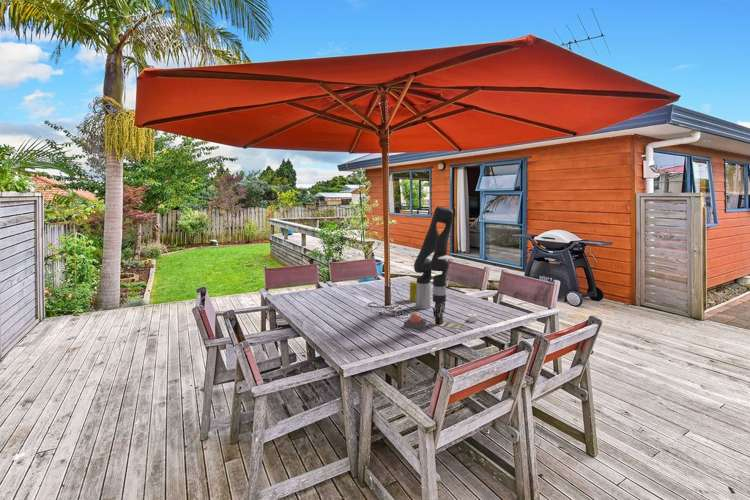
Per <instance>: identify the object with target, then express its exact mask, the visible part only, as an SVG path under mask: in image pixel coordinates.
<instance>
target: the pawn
mask: <svg viewBox="0 0 750 500" xmlns="http://www.w3.org/2000/svg"><path fill="white" fill-rule="evenodd" d="M438 312H439V311H438ZM434 320H435V324H436V317H434ZM443 321H444V314H443V315H442V312H441V314H440V323H439V324H438V325H441V324H443Z"/></svg>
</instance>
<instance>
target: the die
mask: <svg viewBox="0 0 750 500" xmlns="http://www.w3.org/2000/svg"><path fill="white" fill-rule="evenodd" d="M468 322H471V323H477V322H478V316H477V314H476V313H468Z"/></svg>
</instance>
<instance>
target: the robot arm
mask: <svg viewBox="0 0 750 500" xmlns="http://www.w3.org/2000/svg"><path fill="white" fill-rule="evenodd" d="M453 219H454V210H453V209H452V208H448V207H443V206H436V208H435V209H434V212H433V214H432V217H431V221H430V225H429V228H428V230H427V232H426V234H425V237H424V239H423V240H424V241H423V243H422V245H421V248H420V251H419V252H418V255H417V257H416V259H415V261H414V263H413V269H414V270H413V271H414V272H416V273H418V274H421V275H420V276H419V277H417V278H416V281H417V293H416V301H415V308H417V309H418V310H419V309H420V310H428V309H431V280H433V281H432V283H433V284H432V302H433V303H434V306H433V307H432V312H433V313H432V314H433V317H434V318H435V317H436V324H439V323H440V314H441V312H442V315H443V316H444V314H445V310H446V302H447V286H446V285H447V281H446V279H447V273H448V270H449V267H450V262H449V260H448V259H446V258H441V257H445V256H447V253H448V245H449V244H448V242H449V237H450V232H451V229H452V225H453ZM438 223H442V224H445V226H444V228H443V230H442V231H441V233H440V234H439V231H438V227H437V224H438ZM432 254H433V255H432ZM431 255H432V258H431V259H430V258H428V257H430V256H431ZM432 272H441V274H436V275H434V276H433V278H432ZM438 311H439V312H438Z"/></svg>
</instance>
